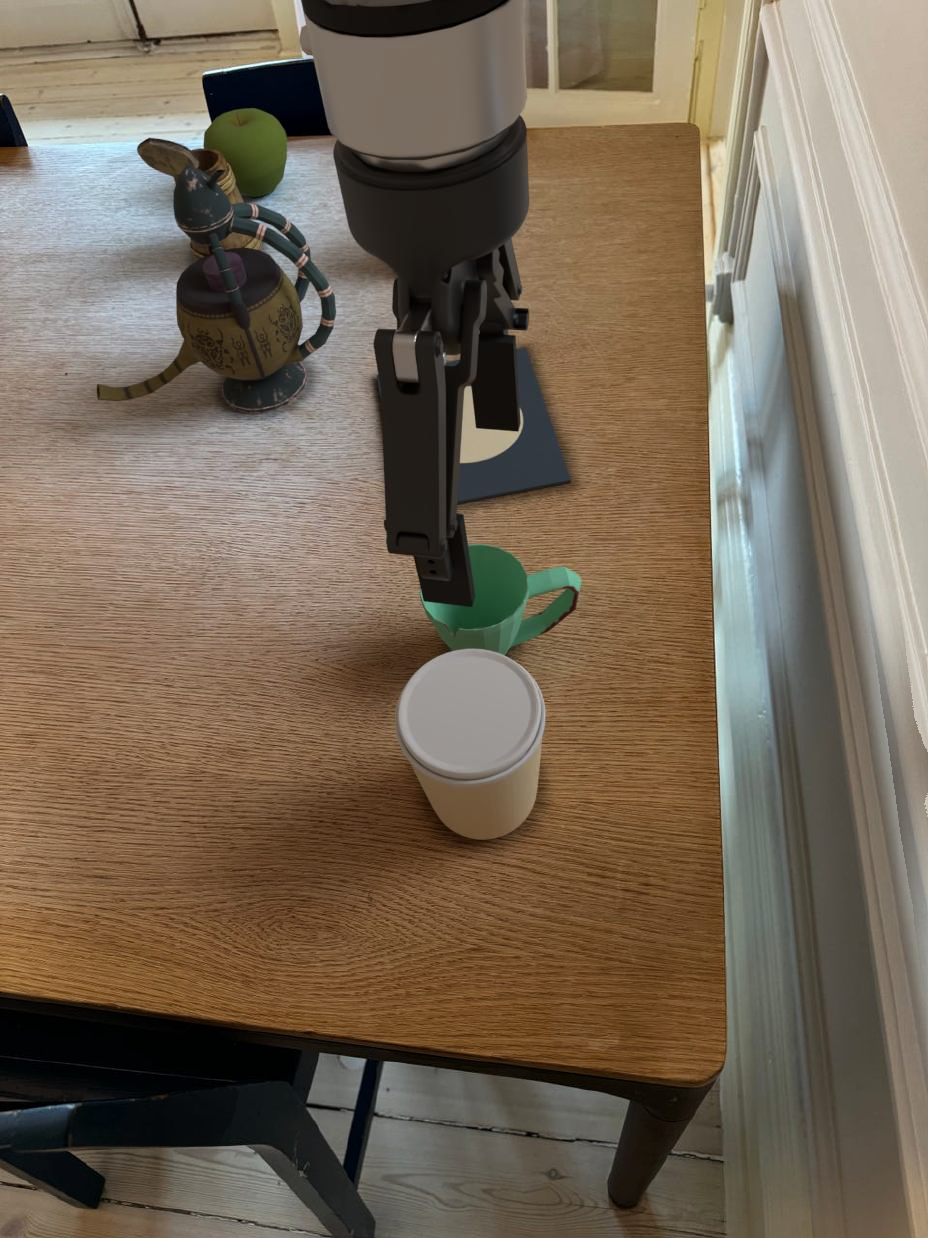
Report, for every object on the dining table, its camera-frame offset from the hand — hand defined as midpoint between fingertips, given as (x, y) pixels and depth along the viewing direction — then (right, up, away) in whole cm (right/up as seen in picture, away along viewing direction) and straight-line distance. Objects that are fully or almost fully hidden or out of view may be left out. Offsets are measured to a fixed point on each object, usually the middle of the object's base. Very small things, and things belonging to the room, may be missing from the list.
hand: (475, 506), depth 50 cm
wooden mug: (-31, +38, +56) cm, 74 cm away
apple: (-28, +51, +66) cm, 88 cm away
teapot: (-25, +17, +41) cm, 51 cm away
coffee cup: (+1, -19, +12) cm, 23 cm away
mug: (+3, -9, +19) cm, 21 cm away
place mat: (0, +12, +34) cm, 37 cm away
